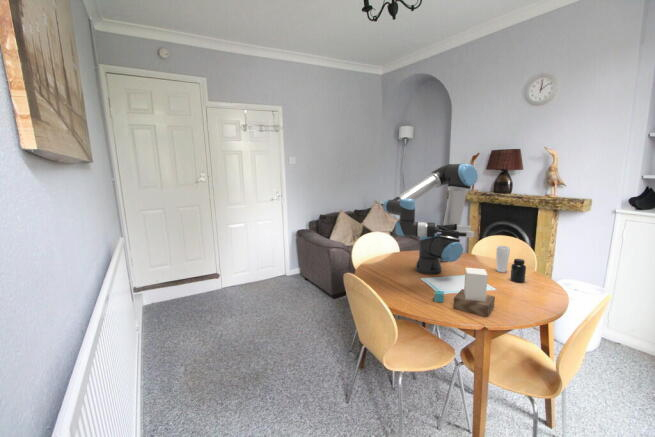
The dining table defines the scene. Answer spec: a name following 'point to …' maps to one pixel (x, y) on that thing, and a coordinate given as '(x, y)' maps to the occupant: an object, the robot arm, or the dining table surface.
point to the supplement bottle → (518, 271)
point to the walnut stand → (474, 304)
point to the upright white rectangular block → (475, 284)
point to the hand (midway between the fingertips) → (472, 231)
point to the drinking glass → (502, 258)
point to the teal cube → (439, 296)
